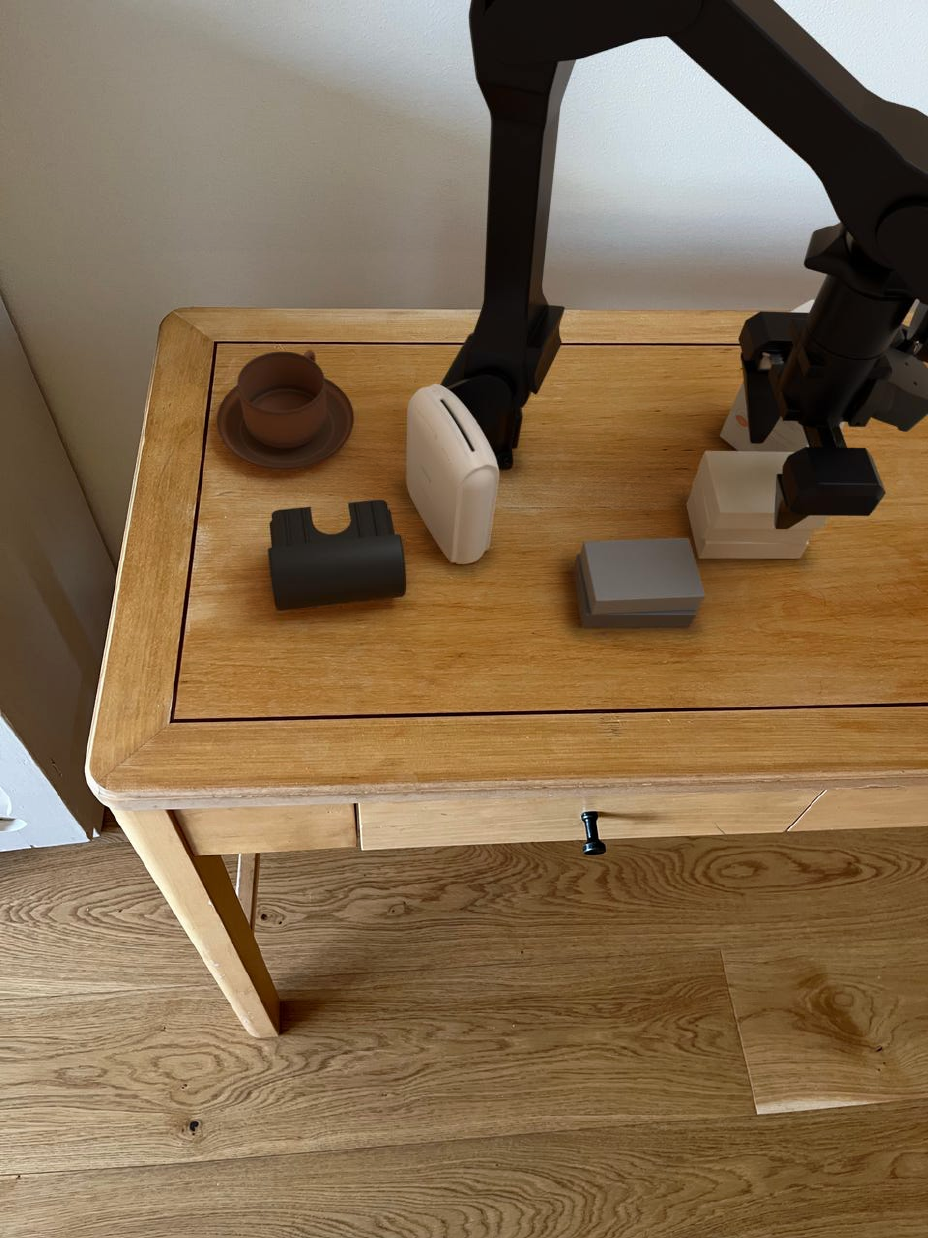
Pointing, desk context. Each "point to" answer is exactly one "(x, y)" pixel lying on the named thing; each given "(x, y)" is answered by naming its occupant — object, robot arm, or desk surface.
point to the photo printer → (450, 473)
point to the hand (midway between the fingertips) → (768, 483)
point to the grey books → (637, 583)
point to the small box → (783, 434)
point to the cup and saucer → (284, 413)
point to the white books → (740, 535)
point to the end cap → (335, 558)
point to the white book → (745, 489)
